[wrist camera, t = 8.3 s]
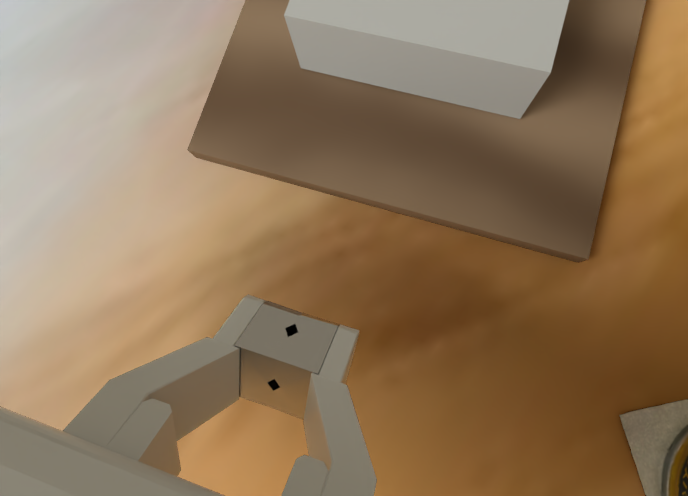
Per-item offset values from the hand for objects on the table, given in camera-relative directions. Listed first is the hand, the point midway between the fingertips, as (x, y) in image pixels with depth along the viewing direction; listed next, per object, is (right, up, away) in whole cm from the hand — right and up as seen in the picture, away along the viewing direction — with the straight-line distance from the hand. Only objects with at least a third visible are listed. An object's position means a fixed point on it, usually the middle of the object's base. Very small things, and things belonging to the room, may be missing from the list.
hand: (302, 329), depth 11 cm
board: (+5, +12, +8) cm, 15 cm away
